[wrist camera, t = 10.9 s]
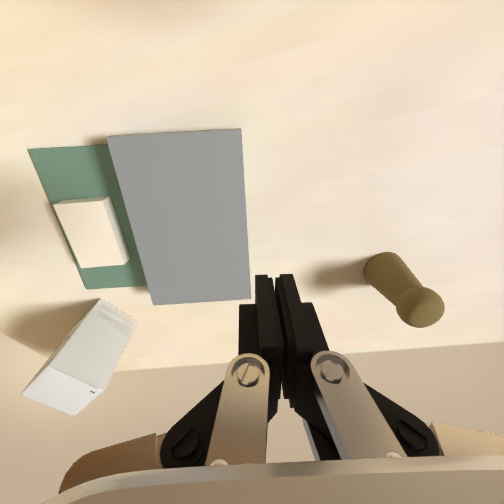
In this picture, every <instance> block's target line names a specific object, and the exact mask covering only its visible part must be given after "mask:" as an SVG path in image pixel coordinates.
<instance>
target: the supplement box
mask: <svg viewBox="0 0 504 504" xmlns="http://www.w3.org/2000/svg"><path fill="white" fill-rule="evenodd" d="M137 324H138V321H136V320H135V319H133V318H132V317H130V316H128V315H127V314H125V313H123V312H122V311H120V310H119V309H117V308H115V307H114V306H112V305H110V304H109V303H107V302H106V301H104V300H102V299H99V300H98V301H97V303H96V304H95V305H94V306H93V307H92V308H91V309H90V310H89V312H88V313H87V314H86V315H85V316H84V317H83V318H82V319H81V320H80V321H79V322H78V323H77V324H76V325H75V327H74V328H73V329H72V330H71V332H70V333H69V334H68V335H67V336H66V338H65V339H64V340H63V341H62V343H61V344H60V345H59V346H58V348H57V349H56V350H55V351H54V353H53V354H52V355H51V356H50V358H49V359H48V360H47V361H46V363H45V364H44V365H43V367H42V368H41V369H40V370H39V372H38V373H37V374H36V375H35V377H34V378H33V379H32V380H31V382H30V383H29V384H28V386H27V387H26V388H25V389H24V390H23V392H22V393H21V395H23V396H25V397H27V398H30V399H32V400H35V401H37V402H39V403H42V404H44V405H47V406H50V407H52V408H54V409H57V410H59V411H62V412H65V413H68V414H70V415H72V416H76V415H77V414H78V413H80V412H81V411H82V410H83V409H84V408H85V407H86V406H87V405H88V404H90V403H91V402H92V401H93V400H94V399H95V398H97V397H98V396H99V395H100V394H101V393H102V392H104V390H105V388H106V386H107V384H108V382H109V380H110V378H111V376H112V374H113V372H114V370H115V368H116V366H117V364H118V362H119V360H120V358H121V356H122V354H123V352H124V350H125V348H126V346H127V344H128V342H129V340H130V338H131V336H132V334H133V332H134V330H135V328H136V326H137Z"/></svg>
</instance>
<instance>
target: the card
mask: <svg viewBox="0 0 504 504" xmlns="http://www.w3.org/2000/svg"><path fill="white" fill-rule="evenodd" d="M53 207H54V209H55V211H56V213H57V216H58V218H59V220H60V222H61V225H62V227H63V229H64V231H65V234H66V236H67V238H68V240H69V243H70V245H71V247H72V249H73V252H74V254H75V256H76V258H77V261H78V263H79V265H80V267H81V268H91V267H102V266H114V265H125V263H126V262H127V261H128V260H129V258H130V256H129V253H128V250H127V247H126V244H125V241H124V238H123V235H122V232H121V229H120V226H119V223H118V220H117V217H116V214H115V211H114V208H113V205H112V202H111V199H110V196H108V197H96V198H84V199H72V200H62V201H60V202H58V203H56V204H54V205H53Z"/></svg>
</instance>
